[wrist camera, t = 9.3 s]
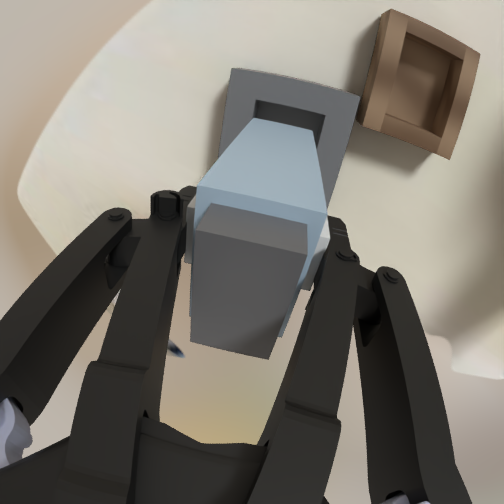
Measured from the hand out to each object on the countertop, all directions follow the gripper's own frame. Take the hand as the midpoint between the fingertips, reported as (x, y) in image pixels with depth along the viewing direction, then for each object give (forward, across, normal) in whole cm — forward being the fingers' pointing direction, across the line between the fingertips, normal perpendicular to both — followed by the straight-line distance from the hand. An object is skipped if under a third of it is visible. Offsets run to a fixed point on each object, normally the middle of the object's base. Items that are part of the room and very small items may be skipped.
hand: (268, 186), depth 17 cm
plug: (+4, 0, 0) cm, 4 cm away
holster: (+10, +10, +9) cm, 17 cm away
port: (+11, 0, 0) cm, 11 cm away
